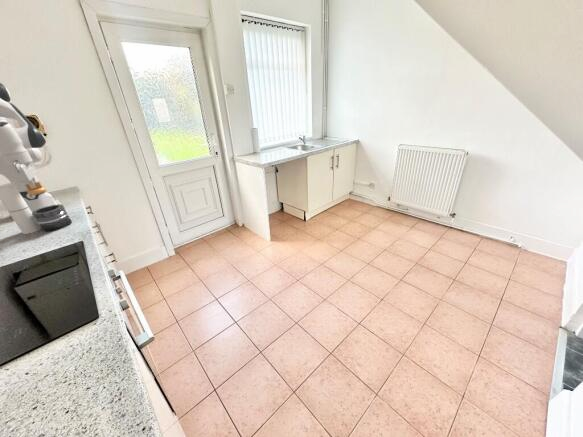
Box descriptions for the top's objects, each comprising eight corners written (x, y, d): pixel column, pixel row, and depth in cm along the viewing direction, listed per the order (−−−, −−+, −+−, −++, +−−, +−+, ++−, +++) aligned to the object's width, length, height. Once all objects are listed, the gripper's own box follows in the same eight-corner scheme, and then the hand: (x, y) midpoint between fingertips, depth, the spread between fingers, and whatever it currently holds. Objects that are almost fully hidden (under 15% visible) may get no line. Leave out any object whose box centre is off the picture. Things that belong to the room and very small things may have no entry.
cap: (47, 189, 123) (42, 180, 121) (45, 192, 119) (40, 182, 116) (30, 192, 120) (24, 183, 118) (27, 196, 115) (21, 186, 113)
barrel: (44, 225, 129) (34, 209, 125) (72, 218, 136) (63, 202, 131) (40, 234, 121) (29, 216, 116) (71, 226, 127) (61, 209, 122)
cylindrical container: (29, 234, 121) (-2, 188, 110) (19, 233, 123) (-13, 188, 111) (45, 227, 127) (17, 183, 116) (35, 226, 129) (6, 182, 117)
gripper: (22, 161, 106) (39, 190, 112) (31, 155, 120) (46, 181, 127) (2, 164, 102) (21, 194, 109) (13, 157, 117) (29, 184, 124)
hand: (34, 187), depth 118 cm, fingers closed on cap
